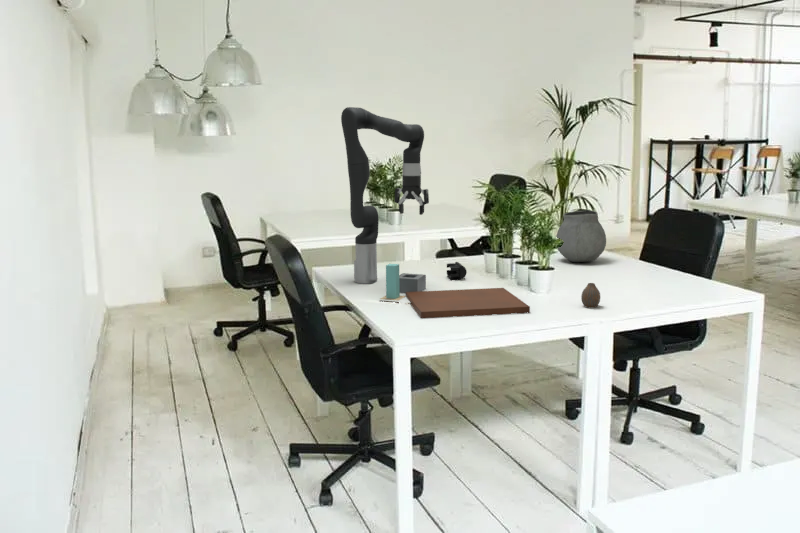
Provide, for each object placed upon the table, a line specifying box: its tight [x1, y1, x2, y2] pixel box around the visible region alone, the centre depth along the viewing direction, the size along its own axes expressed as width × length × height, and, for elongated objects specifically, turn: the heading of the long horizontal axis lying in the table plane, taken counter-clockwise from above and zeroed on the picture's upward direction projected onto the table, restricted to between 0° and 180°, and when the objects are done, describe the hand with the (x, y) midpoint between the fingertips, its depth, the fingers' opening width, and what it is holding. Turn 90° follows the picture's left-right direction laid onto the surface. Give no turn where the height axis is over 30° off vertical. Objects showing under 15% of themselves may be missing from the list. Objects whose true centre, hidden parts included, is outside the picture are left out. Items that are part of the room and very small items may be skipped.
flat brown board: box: [405, 287, 531, 319], centre depth 286 cm, size 40×3×33 cm
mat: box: [379, 295, 407, 304], centre depth 295 cm, size 8×8×1 cm
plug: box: [385, 263, 401, 299], centre depth 294 cm, size 4×4×13 cm
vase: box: [580, 282, 601, 308], centre depth 281 cm, size 7×7×9 cm
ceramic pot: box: [555, 210, 607, 263], centre depth 371 cm, size 24×24×25 cm
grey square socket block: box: [399, 272, 427, 294], centre depth 307 cm, size 10×10×7 cm
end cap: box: [446, 261, 468, 282], centre depth 336 cm, size 10×7×7 cm
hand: (411, 213), depth 309 cm, fingers open, 8 cm apart
